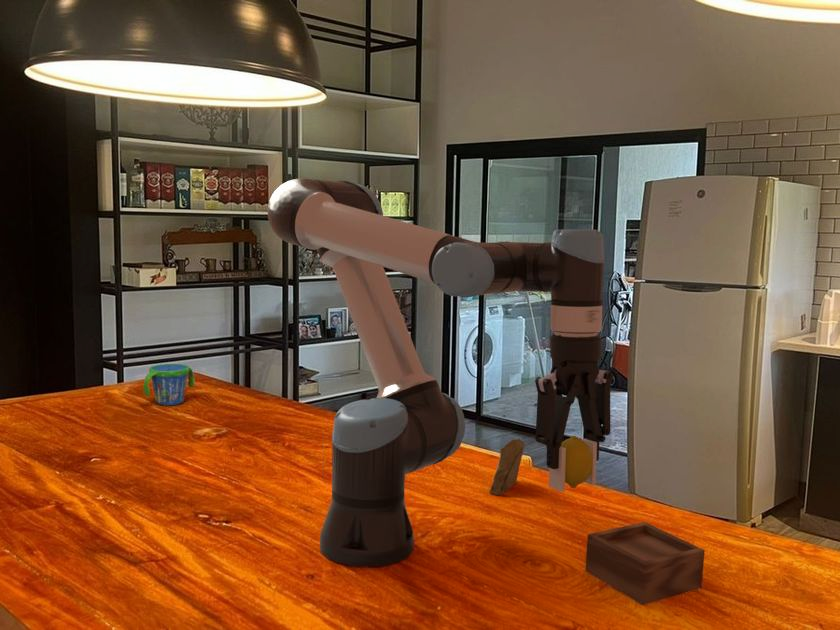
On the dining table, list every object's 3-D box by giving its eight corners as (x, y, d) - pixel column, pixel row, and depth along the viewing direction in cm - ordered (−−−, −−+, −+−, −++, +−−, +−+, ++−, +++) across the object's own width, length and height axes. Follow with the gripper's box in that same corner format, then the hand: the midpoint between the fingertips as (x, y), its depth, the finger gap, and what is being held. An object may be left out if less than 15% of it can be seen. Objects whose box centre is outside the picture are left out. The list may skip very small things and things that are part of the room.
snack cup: (154, 411, 210) (153, 373, 209) (133, 404, 217) (133, 367, 216) (204, 402, 222) (204, 366, 221) (184, 395, 229) (184, 361, 227)
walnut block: (642, 607, 111) (645, 565, 111) (585, 572, 122) (587, 534, 121) (701, 590, 117) (704, 550, 117) (642, 558, 128) (644, 521, 127)
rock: (506, 490, 150) (542, 474, 156) (485, 450, 153) (521, 435, 159) (477, 508, 158) (512, 492, 164) (458, 469, 161) (492, 455, 167)
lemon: (566, 480, 123) (567, 430, 123) (598, 487, 120) (599, 435, 119) (547, 488, 119) (548, 436, 118) (580, 496, 115) (581, 442, 115)
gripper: (544, 340, 109) (541, 503, 112) (639, 332, 119) (634, 482, 121) (510, 334, 116) (508, 488, 118) (603, 327, 125) (599, 470, 128)
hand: (572, 485), depth 120 cm, fingers closed on lemon, 5 cm apart
